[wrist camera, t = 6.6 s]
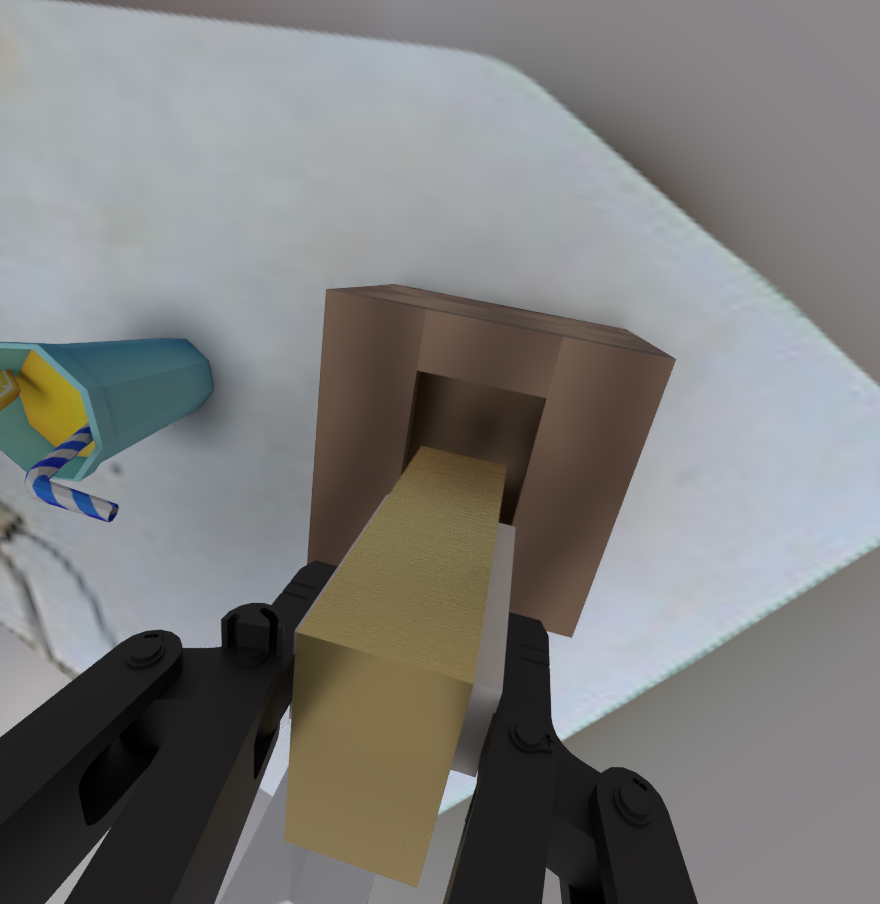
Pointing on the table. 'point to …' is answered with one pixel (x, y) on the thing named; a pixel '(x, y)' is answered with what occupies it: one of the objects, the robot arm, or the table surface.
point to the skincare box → (292, 868)
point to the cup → (91, 407)
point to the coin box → (484, 425)
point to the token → (393, 669)
